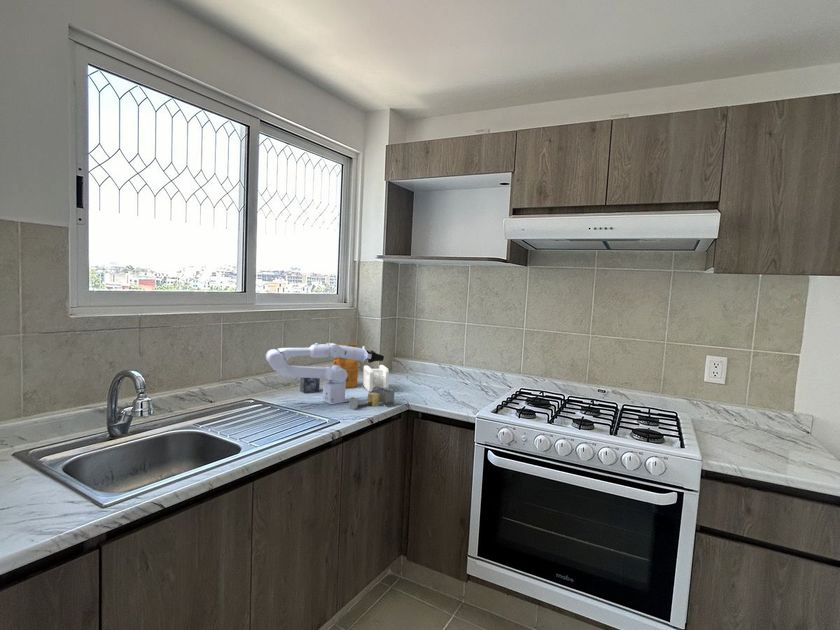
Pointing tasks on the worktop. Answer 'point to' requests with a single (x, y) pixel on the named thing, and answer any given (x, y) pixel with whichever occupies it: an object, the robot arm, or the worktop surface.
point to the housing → (386, 396)
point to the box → (309, 385)
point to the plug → (372, 401)
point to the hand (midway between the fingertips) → (380, 357)
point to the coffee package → (348, 368)
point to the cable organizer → (375, 377)
